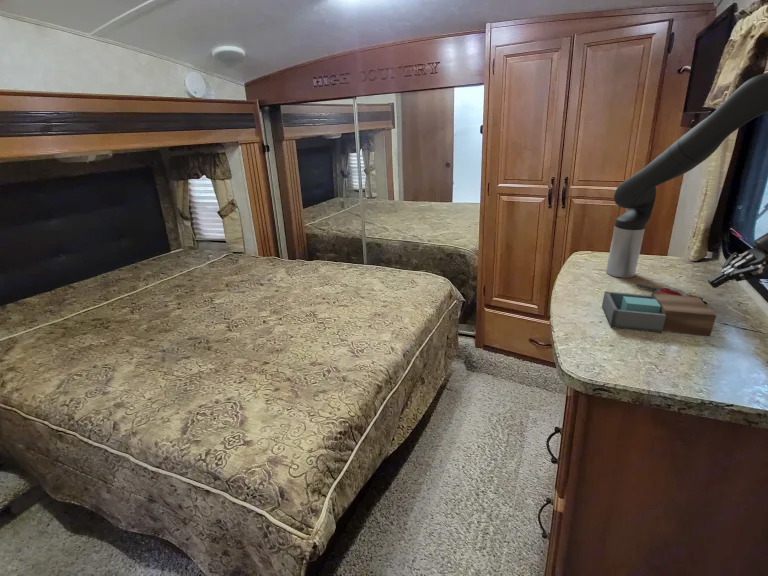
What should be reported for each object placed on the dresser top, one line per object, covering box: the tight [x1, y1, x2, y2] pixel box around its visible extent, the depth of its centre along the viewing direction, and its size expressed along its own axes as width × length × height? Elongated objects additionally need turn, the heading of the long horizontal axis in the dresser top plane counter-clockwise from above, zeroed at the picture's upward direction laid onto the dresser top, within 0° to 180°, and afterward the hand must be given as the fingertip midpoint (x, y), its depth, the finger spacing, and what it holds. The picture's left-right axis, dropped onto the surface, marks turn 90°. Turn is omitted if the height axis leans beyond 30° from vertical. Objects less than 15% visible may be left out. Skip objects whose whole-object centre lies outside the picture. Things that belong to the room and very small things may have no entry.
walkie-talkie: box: [635, 283, 708, 306], centre depth 127 cm, size 9×4×20 cm
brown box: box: [651, 293, 717, 337], centre depth 111 cm, size 12×11×6 cm
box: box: [601, 291, 666, 334], centre depth 114 cm, size 14×12×5 cm
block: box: [620, 296, 661, 313], centre depth 113 cm, size 5×5×8 cm
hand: (710, 284), depth 106 cm, fingers closed
